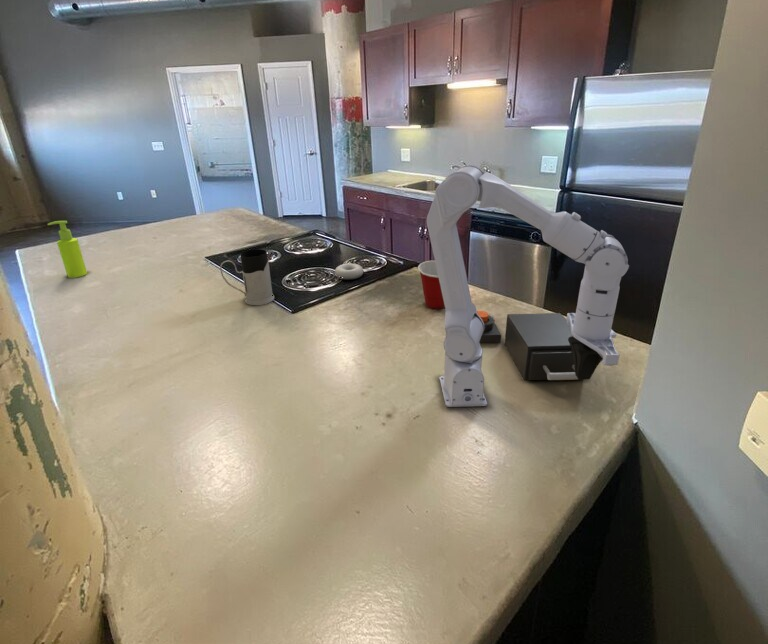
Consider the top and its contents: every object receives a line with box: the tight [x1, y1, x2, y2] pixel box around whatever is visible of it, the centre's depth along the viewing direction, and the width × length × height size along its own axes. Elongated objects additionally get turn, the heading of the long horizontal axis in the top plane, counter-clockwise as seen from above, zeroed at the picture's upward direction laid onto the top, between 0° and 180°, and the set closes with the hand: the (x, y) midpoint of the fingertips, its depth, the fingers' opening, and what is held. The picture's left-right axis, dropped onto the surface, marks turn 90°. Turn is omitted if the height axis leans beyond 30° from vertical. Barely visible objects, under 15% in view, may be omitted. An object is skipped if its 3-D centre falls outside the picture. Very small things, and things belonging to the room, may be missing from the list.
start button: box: [477, 310, 489, 323], centre depth 105 cm, size 4×4×2 cm
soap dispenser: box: [47, 220, 88, 279], centre depth 147 cm, size 6×7×20 cm
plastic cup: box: [417, 260, 445, 310], centre depth 120 cm, size 11×11×12 cm
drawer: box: [528, 349, 579, 381], centre depth 89 cm, size 18×11×6 cm, turn 1°
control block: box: [479, 314, 502, 344], centre depth 105 cm, size 10×8×4 cm
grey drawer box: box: [504, 312, 572, 381], centre depth 93 cm, size 15×13×8 cm
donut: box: [334, 262, 364, 281], centre depth 145 cm, size 10×4×10 cm
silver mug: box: [219, 248, 276, 306], centre depth 125 cm, size 9×14×15 cm, turn 112°
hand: (582, 377), depth 74 cm, fingers closed
